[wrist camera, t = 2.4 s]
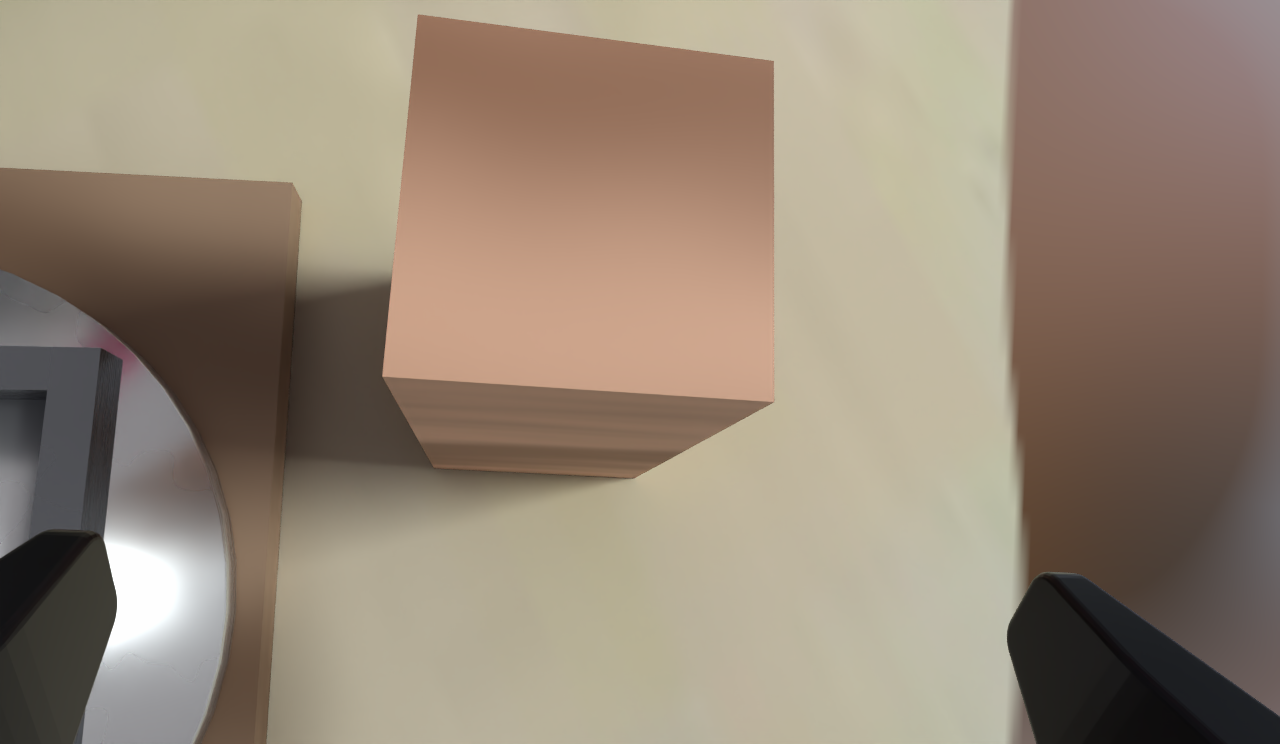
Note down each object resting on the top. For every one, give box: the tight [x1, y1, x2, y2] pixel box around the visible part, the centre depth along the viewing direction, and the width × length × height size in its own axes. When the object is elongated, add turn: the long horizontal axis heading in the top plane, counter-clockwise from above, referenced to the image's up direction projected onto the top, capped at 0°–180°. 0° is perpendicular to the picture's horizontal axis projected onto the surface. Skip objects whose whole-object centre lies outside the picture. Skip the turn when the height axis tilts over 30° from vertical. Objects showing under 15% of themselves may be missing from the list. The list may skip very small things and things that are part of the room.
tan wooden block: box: [382, 15, 774, 478], centre depth 15 cm, size 4×4×10 cm
